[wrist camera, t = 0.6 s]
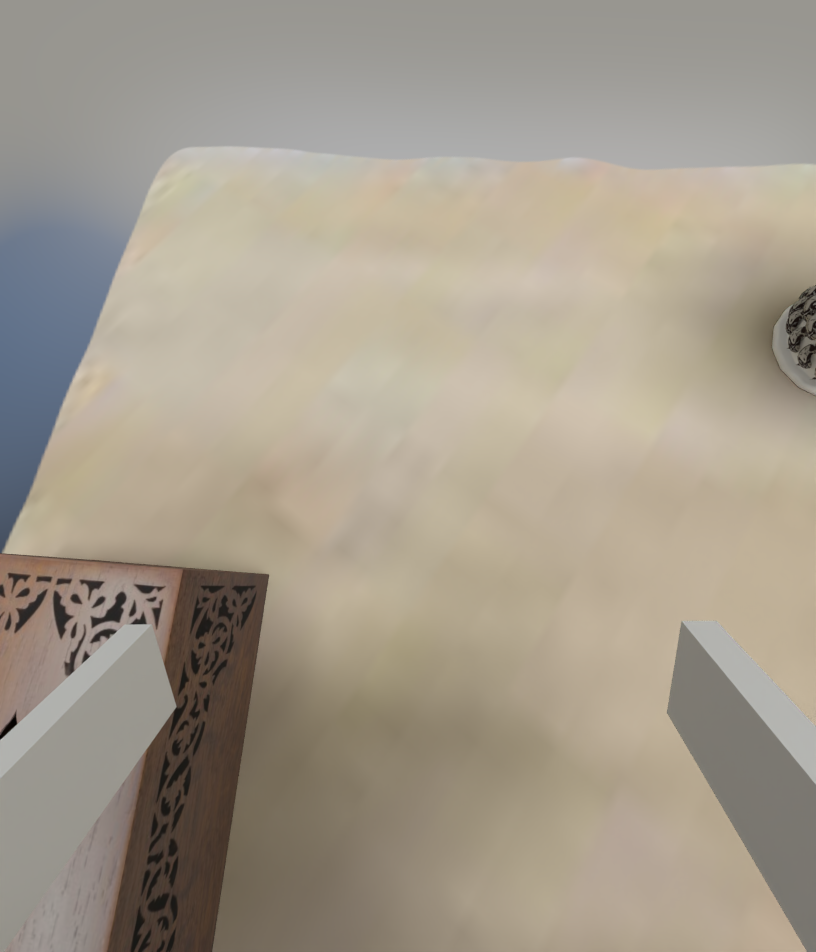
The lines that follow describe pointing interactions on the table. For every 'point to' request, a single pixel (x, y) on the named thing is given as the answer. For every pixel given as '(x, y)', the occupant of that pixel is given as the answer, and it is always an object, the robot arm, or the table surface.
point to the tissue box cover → (165, 760)
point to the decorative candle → (798, 341)
